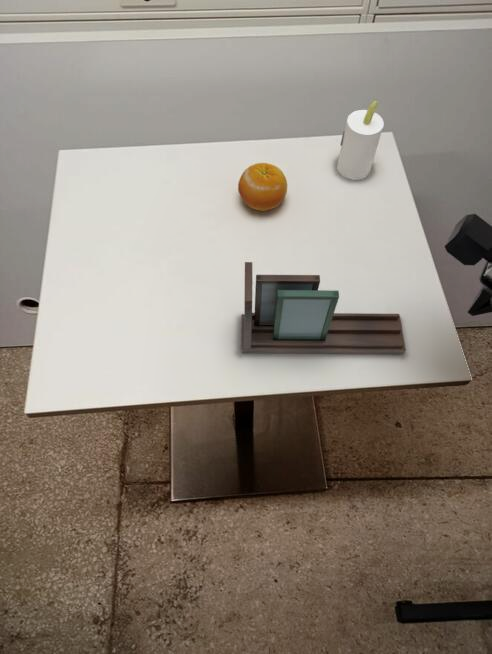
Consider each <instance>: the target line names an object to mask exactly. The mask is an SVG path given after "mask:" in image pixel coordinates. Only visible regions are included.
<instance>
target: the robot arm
mask: <svg viewBox="0 0 492 654" xmlns="http://www.w3.org/2000/svg"><path fill="white" fill-rule="evenodd" d="M444 249H445V250H446V253H448V254H449V255H450V256H452V257H453V259H455V260H457V262H459V263H461V264H462V265H463V266H475V265H477V264H478V263H480V262H481V261H482V259H484V260H485V263H484V265H483V268H482V270H481V272H480V274H479V276H478V280H479V283H480V284H481V285H482V286H481V288H480V290H479V291H478V293H477V294H476V296H475V298H474V299H473V301H472V303H471V304H470V306H469V307H468V309H467V314H468V315H470V316H471V317H475V316H480V315H486V314H490V313H492V225H491V224H490V223H488V222H487V221H485V219H483V218H482V217H480V215H478V214H476V213H470V214H466V215H465V216H463V217H462V218H461V219H460V220H459V221H458V222H457V223H456V224H455V226H454V227H453V230H452V231H451V233H450V235H449V237H448V238H447V241H446V243H445V245H444Z"/></svg>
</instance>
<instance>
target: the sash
mask: <svg viewBox="0 0 492 654" xmlns="http://www.w3.org/2000/svg"><path fill="white" fill-rule="evenodd" d="M339 299H340V291H339V290H334V289H333V290H321V289H320V290H319V289H318V290H278V292H277V300H276V309H275V318H274V327H273V341H325V339H326V336H327V333H328V330H329V327H330V324H331V321H332V317H333V314H334V313H335V312H336V311H335V310H336V308H337V306H338V305H337V304H338V302H339Z"/></svg>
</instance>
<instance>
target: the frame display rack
mask: <svg viewBox="0 0 492 654" xmlns="http://www.w3.org/2000/svg"><path fill="white" fill-rule="evenodd" d="M320 284H321V275H320V274H256V275H255V292H254V293H255V295H254V312H253V262H252V261H244V309H243V311H244V312H243V313H244V314H243V313H242V314H241V317H240V318H241V323H240V325H241V327H240V329H241V331H240V332H241V333H240V353H242V354H245V353H246V354H353V355H354V354H356V355H357V354H364V355H366V354H369V355H370V354H371V355H374V354H376V355H403V354H404V353H405V352H406V344H405V339H404V332H403V326H402V319H401V315H400V313H363V312H362V313H353V312H351V313H350V312H349V313H348V312H347V313H346V312H345V313H344V312H343V313H341V312H339V313H337V312H334V314H333V317H332V321H331V324H330V327H329V330H328V333H327V336H326V339H325V341H273V327H274V318H275V309H276V300H277V292H278V290H319V289H320V288H319V287H320Z"/></svg>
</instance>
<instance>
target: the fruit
mask: <svg viewBox="0 0 492 654" xmlns="http://www.w3.org/2000/svg"><path fill="white" fill-rule="evenodd" d="M237 189H238V193H239V196H240V198H241V200H242V201H243V203H244V204H245V205H247V206H248V207H249V208H251V209H253V210H256V211H261V212H265V211H269V210H272V209H274V208H276V207H278V206H279V205H280V204H281V203H282V202H283V201H284V200H285V197H286V195H287V191H288V180H287V177H286V176H285V174H284V172H283V171H282V169H281V168H280V167H278V166H276V165H274V164H271V163H267V162H258V163H255V164H252V165H250V166H248V167H247V168H245V170H244V171H243V172H242V174H241V176H240V177H239V180H238V185H237Z"/></svg>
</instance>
